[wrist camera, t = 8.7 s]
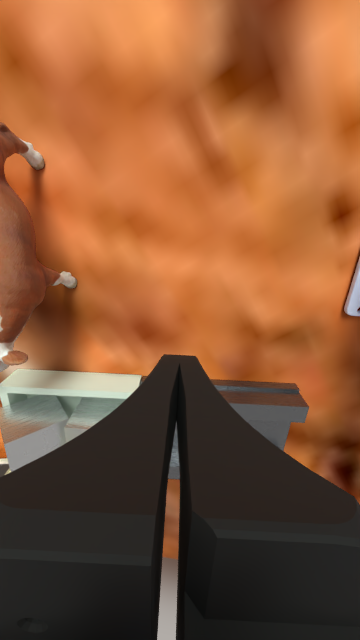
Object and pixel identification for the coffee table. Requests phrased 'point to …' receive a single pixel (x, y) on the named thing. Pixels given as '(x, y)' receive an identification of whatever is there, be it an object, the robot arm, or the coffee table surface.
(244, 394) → the slot board
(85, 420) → the grey cube
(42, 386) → the tray
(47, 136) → the coffee table surface
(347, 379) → the coffee table surface
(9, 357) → the bull figurine
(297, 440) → the coffee table surface
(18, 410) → the chip
